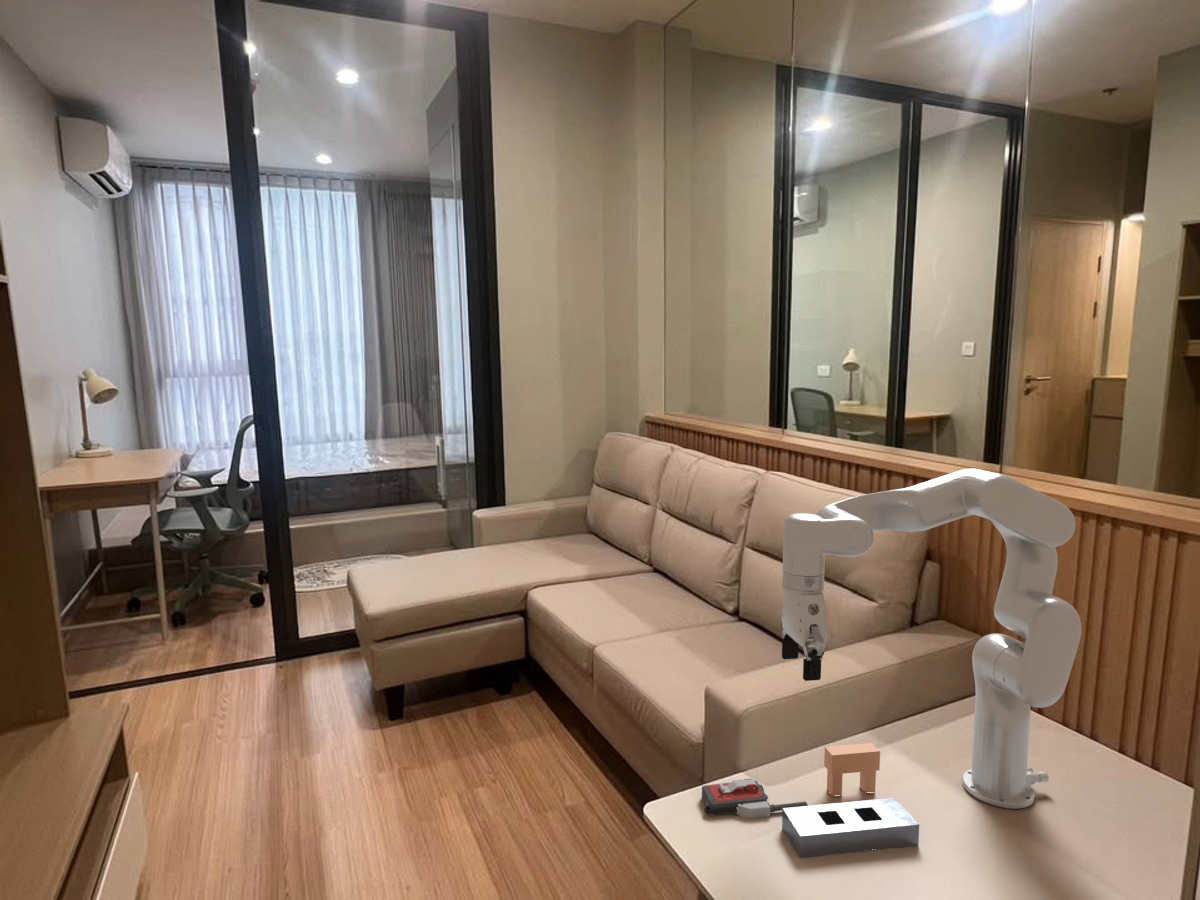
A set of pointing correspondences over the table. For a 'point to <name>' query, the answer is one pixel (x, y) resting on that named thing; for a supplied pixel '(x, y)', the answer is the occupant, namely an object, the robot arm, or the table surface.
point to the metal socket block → (849, 827)
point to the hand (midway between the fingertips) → (800, 668)
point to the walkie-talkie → (740, 799)
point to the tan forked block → (851, 765)
